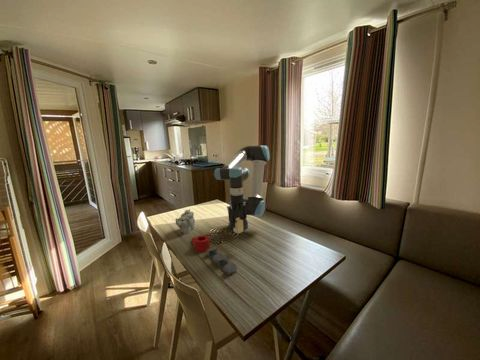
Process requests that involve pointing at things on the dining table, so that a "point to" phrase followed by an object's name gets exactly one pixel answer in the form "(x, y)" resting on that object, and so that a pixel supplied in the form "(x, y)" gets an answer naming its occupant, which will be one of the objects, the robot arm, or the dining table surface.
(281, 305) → the dining table surface
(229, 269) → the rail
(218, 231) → the dining table surface
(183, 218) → the grey lumpy piece
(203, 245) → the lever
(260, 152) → the robot arm
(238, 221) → the nut block
